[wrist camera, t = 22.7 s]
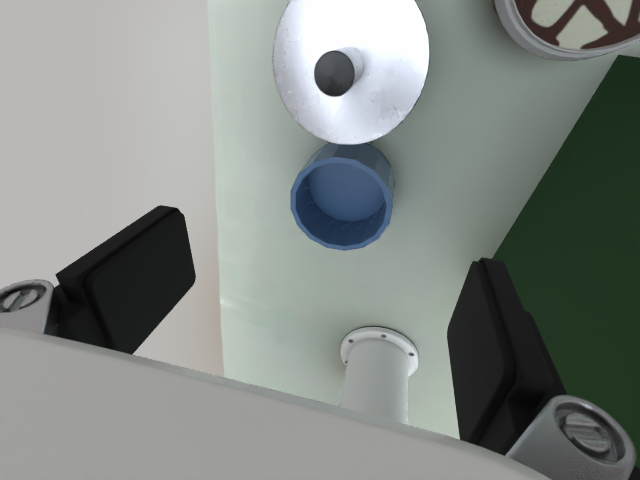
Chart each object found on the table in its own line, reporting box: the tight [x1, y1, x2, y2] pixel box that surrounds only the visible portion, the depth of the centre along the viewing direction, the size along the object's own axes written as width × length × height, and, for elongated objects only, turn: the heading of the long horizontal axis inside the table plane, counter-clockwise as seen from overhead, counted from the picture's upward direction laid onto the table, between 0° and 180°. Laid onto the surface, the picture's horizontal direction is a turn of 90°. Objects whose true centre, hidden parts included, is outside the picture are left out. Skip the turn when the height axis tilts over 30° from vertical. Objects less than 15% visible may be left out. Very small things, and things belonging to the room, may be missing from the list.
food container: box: [493, 0, 640, 61], centre depth 24 cm, size 12×6×10 cm, turn 75°
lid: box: [273, 0, 430, 145], centre depth 23 cm, size 12×12×6 cm
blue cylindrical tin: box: [291, 143, 395, 250], centre depth 37 cm, size 11×11×6 cm
